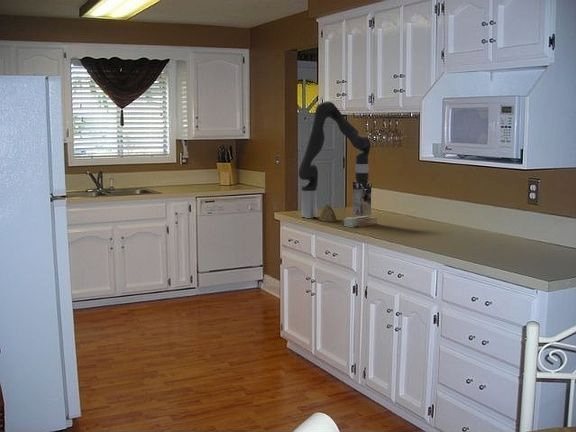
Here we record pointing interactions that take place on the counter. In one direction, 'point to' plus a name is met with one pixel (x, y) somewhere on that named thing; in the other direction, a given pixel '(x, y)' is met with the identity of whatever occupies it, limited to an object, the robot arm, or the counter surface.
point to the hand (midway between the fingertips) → (362, 200)
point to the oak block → (365, 220)
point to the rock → (327, 214)
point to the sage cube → (350, 222)
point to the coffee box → (361, 203)
